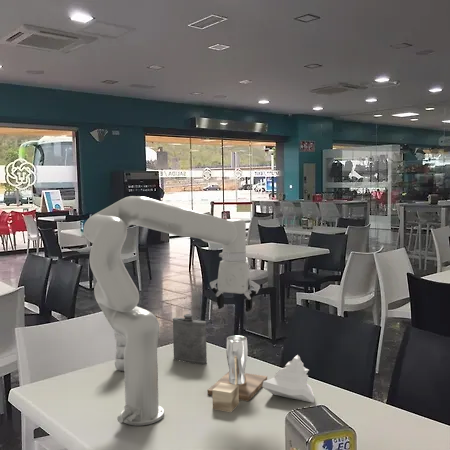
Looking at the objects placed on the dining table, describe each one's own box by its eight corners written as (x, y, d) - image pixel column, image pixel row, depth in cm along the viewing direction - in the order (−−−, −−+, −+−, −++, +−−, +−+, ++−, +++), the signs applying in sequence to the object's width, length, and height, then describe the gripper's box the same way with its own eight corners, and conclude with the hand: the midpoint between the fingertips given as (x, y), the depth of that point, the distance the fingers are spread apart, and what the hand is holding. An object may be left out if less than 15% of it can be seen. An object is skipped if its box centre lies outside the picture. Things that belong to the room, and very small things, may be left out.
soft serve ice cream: (276, 391, 171) (284, 348, 172) (319, 404, 163) (327, 359, 165) (260, 395, 160) (269, 349, 162) (306, 409, 153) (314, 361, 154)
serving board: (248, 401, 160) (248, 396, 160) (207, 394, 165) (207, 389, 165) (267, 380, 176) (267, 376, 176) (229, 375, 182) (229, 370, 182)
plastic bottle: (111, 372, 186) (109, 317, 185) (120, 365, 193) (118, 313, 191) (127, 373, 184) (125, 318, 183) (136, 367, 191) (134, 314, 189)
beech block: (231, 412, 152) (230, 392, 152) (212, 409, 155) (212, 389, 154) (238, 404, 158) (238, 385, 157) (220, 401, 160) (220, 382, 160)
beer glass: (248, 386, 167) (247, 341, 166) (226, 387, 167) (226, 341, 166) (247, 378, 174) (247, 335, 173) (226, 379, 174) (226, 335, 173)
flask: (203, 365, 192) (202, 317, 191) (171, 359, 199) (169, 313, 197) (208, 362, 195) (207, 315, 194) (176, 356, 202) (175, 311, 201)
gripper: (205, 257, 167) (205, 309, 168) (255, 260, 160) (255, 314, 161) (214, 254, 174) (215, 304, 175) (263, 257, 167) (263, 309, 168)
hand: (234, 309), depth 168 cm, fingers open, 9 cm apart
